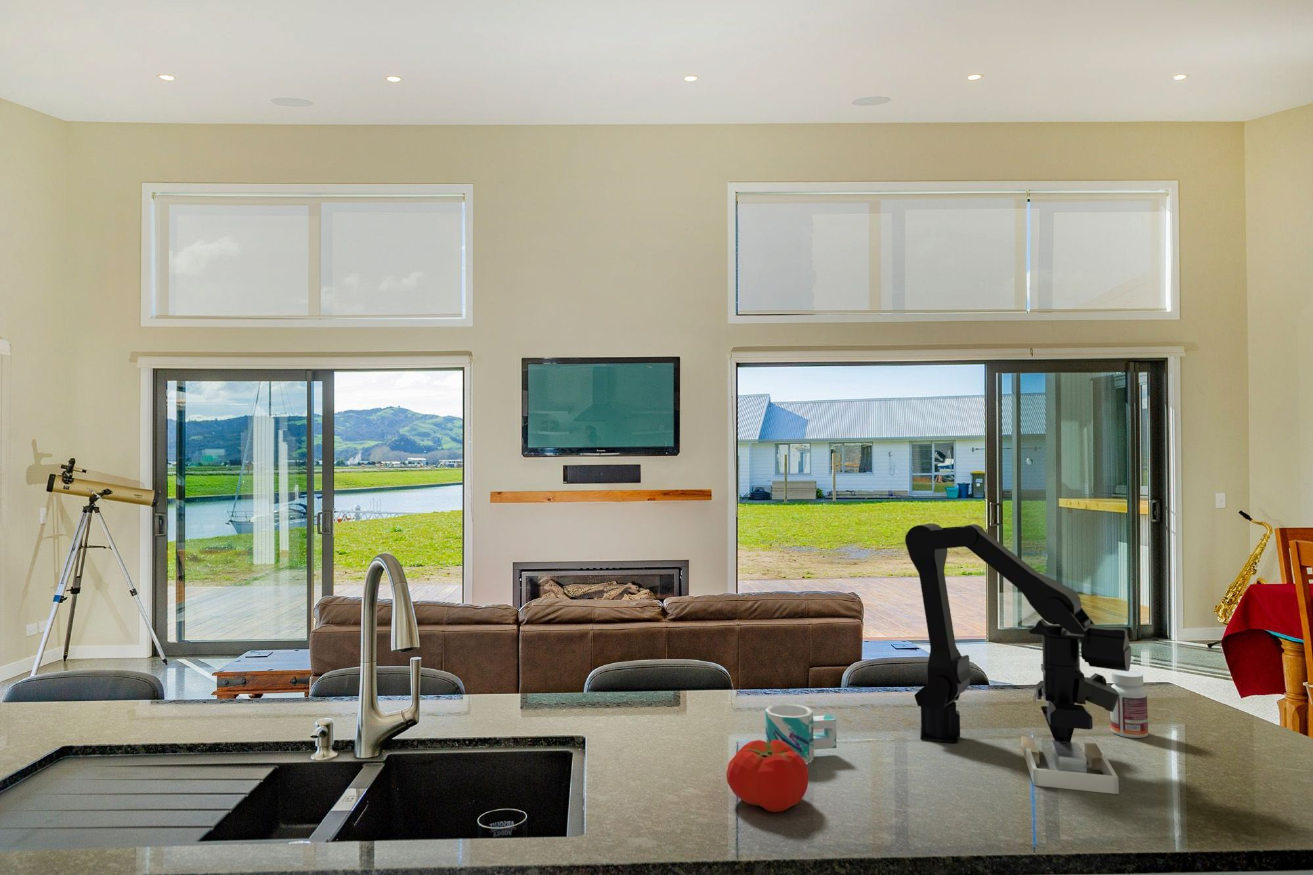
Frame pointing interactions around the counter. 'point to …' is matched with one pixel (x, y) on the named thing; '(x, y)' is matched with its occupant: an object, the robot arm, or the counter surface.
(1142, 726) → the pill bottle
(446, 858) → the counter surface
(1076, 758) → the chip near
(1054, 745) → the block
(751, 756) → the tomato
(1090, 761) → the slot rails
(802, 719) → the mug
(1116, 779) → the chip tray
